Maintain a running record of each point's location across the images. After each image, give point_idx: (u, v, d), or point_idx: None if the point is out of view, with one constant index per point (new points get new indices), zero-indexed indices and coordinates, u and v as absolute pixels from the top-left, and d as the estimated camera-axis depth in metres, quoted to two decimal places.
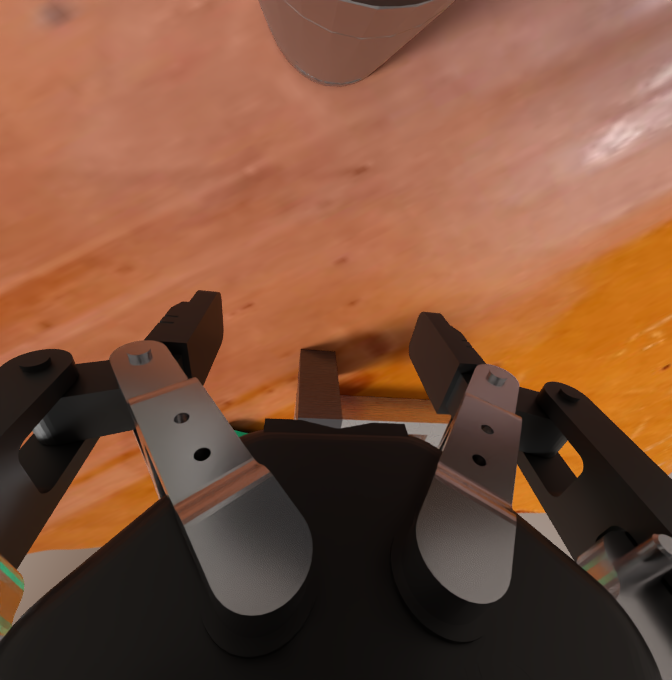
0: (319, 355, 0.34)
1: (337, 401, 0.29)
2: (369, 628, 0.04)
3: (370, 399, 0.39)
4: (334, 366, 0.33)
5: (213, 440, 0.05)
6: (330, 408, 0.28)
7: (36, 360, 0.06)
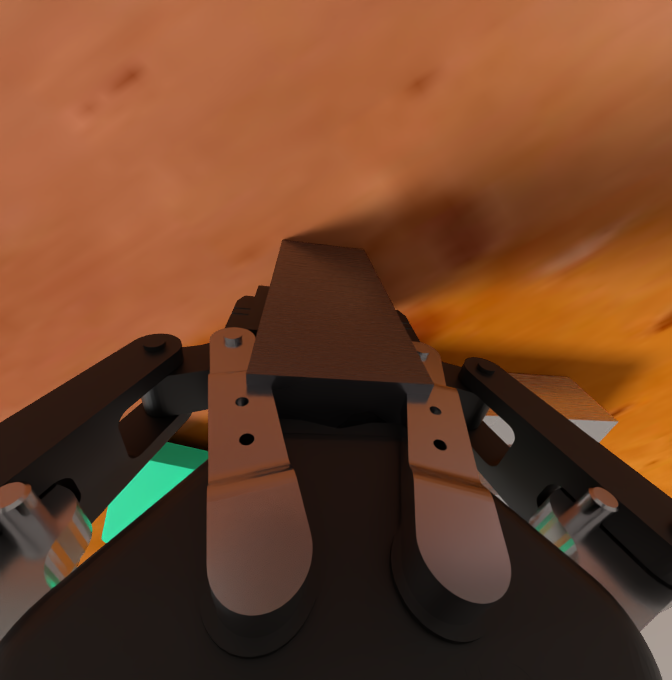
0: (327, 250, 0.14)
1: (396, 331, 0.08)
2: (369, 628, 0.04)
3: None
4: (367, 267, 0.13)
5: (260, 429, 0.05)
6: (376, 348, 0.07)
7: (154, 342, 0.07)
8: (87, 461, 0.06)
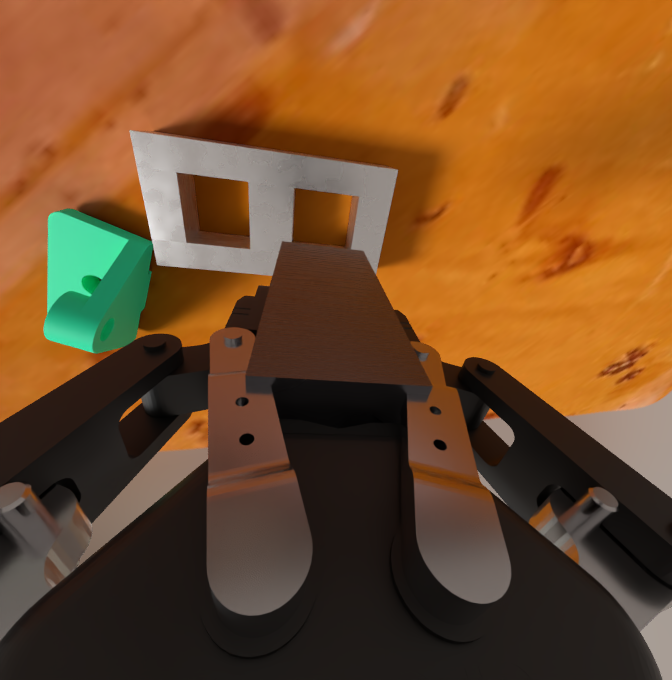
0: (327, 251, 0.14)
1: (395, 333, 0.08)
2: (369, 628, 0.04)
3: (271, 149, 0.26)
4: (367, 269, 0.13)
5: (260, 430, 0.05)
6: (375, 349, 0.07)
7: (154, 342, 0.07)
8: (87, 461, 0.06)
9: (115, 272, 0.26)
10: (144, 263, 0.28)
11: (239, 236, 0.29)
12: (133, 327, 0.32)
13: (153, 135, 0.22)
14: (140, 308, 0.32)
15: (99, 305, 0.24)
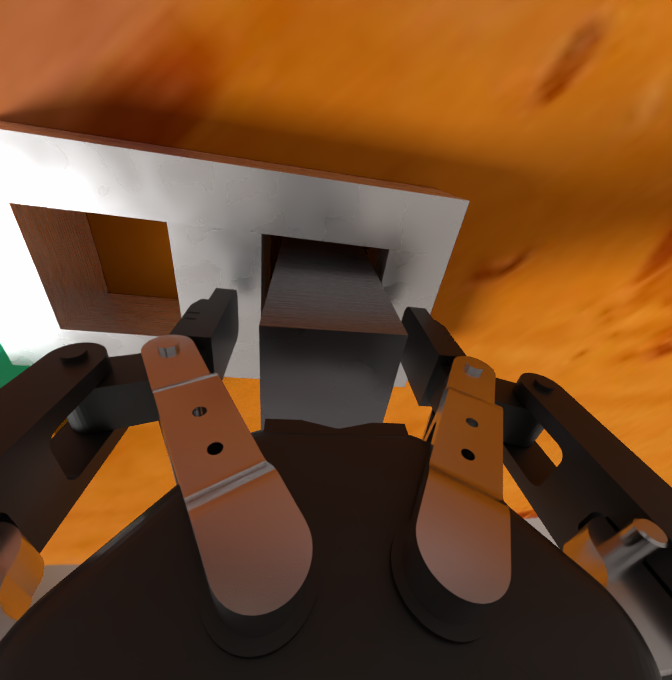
0: None
1: (381, 299, 0.10)
2: (369, 628, 0.04)
3: (223, 155, 0.14)
4: (360, 253, 0.14)
5: (227, 435, 0.05)
6: (363, 310, 0.09)
7: (74, 352, 0.07)
8: (20, 490, 0.05)
9: None
10: None
11: (176, 302, 0.17)
12: None
13: None
14: None
15: None
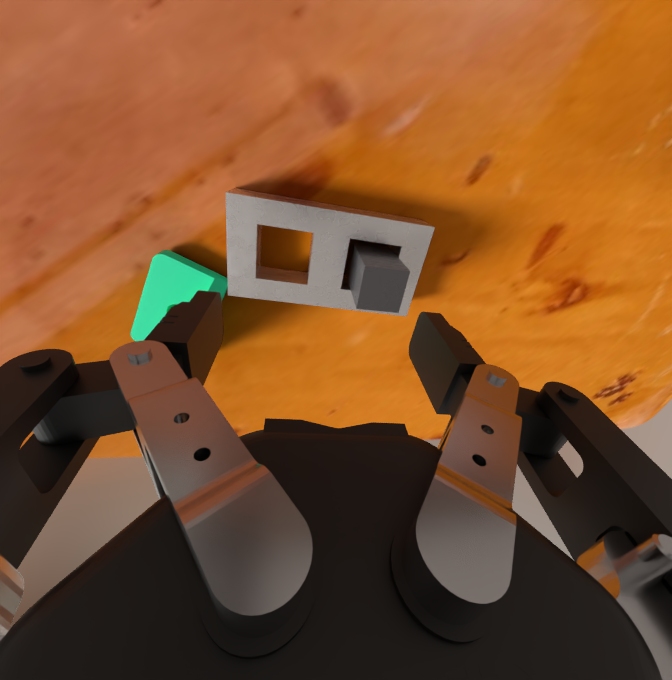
0: (370, 242, 0.33)
1: (400, 263, 0.27)
2: (369, 628, 0.04)
3: (330, 204, 0.31)
4: (388, 248, 0.32)
5: (213, 440, 0.05)
6: (394, 265, 0.27)
7: (36, 360, 0.06)
8: None
9: None
10: (223, 297, 0.34)
11: (293, 271, 0.35)
12: None
13: (243, 196, 0.27)
14: None
15: None
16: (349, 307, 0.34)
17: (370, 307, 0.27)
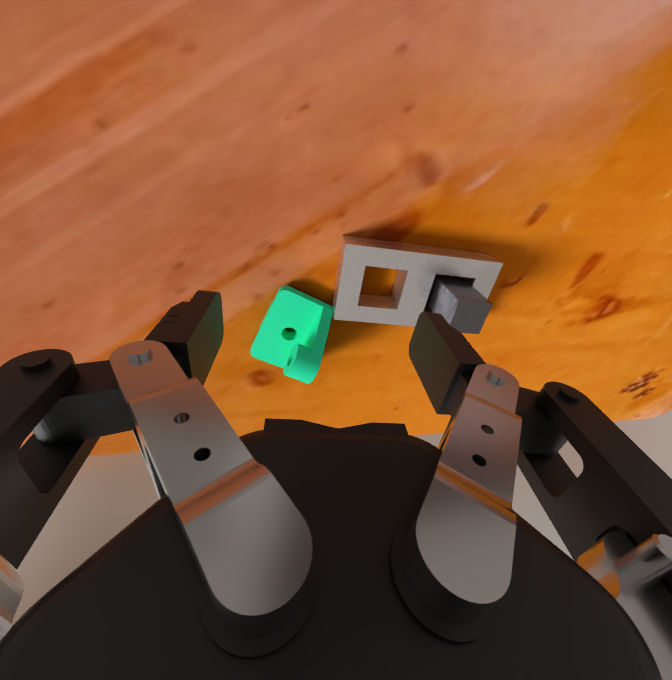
0: None
1: (480, 295, 0.35)
2: (369, 628, 0.04)
3: (416, 245, 0.39)
4: (462, 278, 0.39)
5: (213, 440, 0.05)
6: (478, 297, 0.34)
7: (36, 360, 0.06)
8: None
9: (321, 330, 0.39)
10: None
11: (380, 297, 0.42)
12: None
13: (358, 246, 0.35)
14: None
15: (317, 353, 0.38)
16: None
17: (458, 330, 0.35)
